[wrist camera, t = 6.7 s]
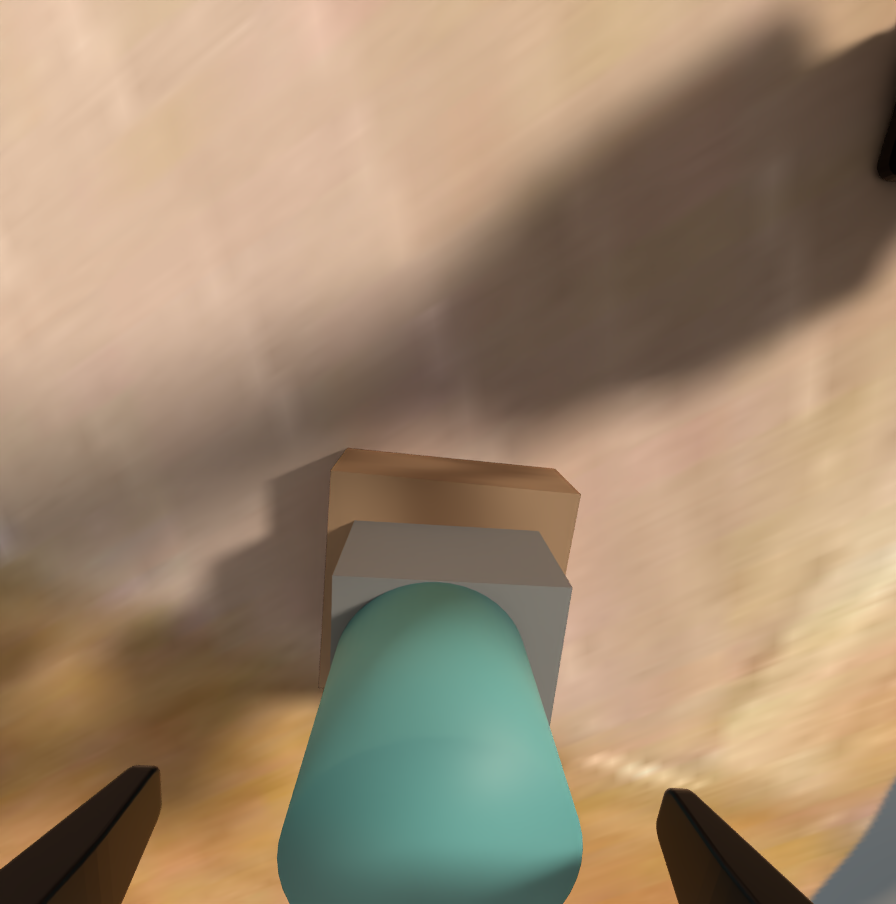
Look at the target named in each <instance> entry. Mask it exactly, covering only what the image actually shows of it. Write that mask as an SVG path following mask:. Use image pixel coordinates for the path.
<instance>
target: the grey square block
mask: <svg viewBox="0 0 896 904" xmlns="http://www.w3.org/2000/svg"><path fill="white" fill-rule="evenodd" d="M423 582H442V583H451V584H455V585H460V586H464V587H467V588H469V589H472V590H475V591H477V592H479V593H481V594H483V595H485V596H486V597H488V598H489V599H491V600H492V601H494V602H495V603H497V604H498V605H499V606H500V607H501V608H502V609H503V610H504V611H505V612H506V613H507V614H508V615H509V617H510V618H511V619H512V620H513V622H514V624H515V625H516V627H517V629H518V631H519V633H520V636H521V638H522V641H523V644H524V647H525V650H526V653H527V657H528V660H529V663H530V666H531V669H532V672H533V676H534V679H535V682H536V685H537V688H538V692H539V695H540V698H541V701H542V704H543V707H544V711H545V714H546V717H547V720H548V723H549V727H550V721H551V715H552V709H553V703H554V697H555V691H556V685H557V678H558V672H559V666H560V660H561V654H562V648H563V642H564V636H565V630H566V624H567V618H568V611H569V605H570V599H571V593H572V586H571V585H570V583H569V581H568V579H567V578H566V576H565V574H564V573H563V571H562V569H561V568H560V566H559V564H558V563H557V561H556V559H555V558H554V556H553V554H552V552H551V551H550V549H549V547H548V546H547V544H546V542H545V541H544V539H543V537H542V536H541V534H540V532H539V531H530V530H513V529H496V528H478V527H461V526H444V525H426V524H409V523H392V522H374V521H357V520H354V523H353V525H352V528H351V530H350V533H349V535H348V538H347V540H346V543H345V545H344V548H343V550H342V553H341V555H340V558H339V560H338V563H337V565H336V568H335V570H334V573H333V575H332V610H331V652H330V668H331V665H332V661H333V658H334V655H335V651H336V648H337V645H338V642H339V639H340V637H341V635H342V633H343V631H344V629H345V628H346V626H347V624H348V623H349V621H350V620H351V619H352V618H353V617H354V615H355V614H356V613H357V612H358V611H359V610H360V609H362V608H363V607H364V606H365V605H366V604H367V603H369V602H370V601H372V600H373V599H375V598H376V597H378V596H380V595H382V594H384V593H386V592H388V591H390V590H393V589H395V588H398V587H401V586H405V585H410V584H415V583H423Z"/></svg>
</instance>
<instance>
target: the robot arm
mask: <svg viewBox="0 0 896 904" xmlns="http://www.w3.org/2000/svg"><path fill="white" fill-rule="evenodd" d="M877 170H878V174H879V176H880V177H881V178H882V179H884V180H886V181H893V182H896V104H895V107H894V110H893V114H892V117H891V120H890V124H889V127H888V130H887V134H886V137H885V140H884V144H883V147H882V150H881V154H880V157H879V160H878V166H877ZM160 810H161V781H160V770H159V768H158V767H156V766H145V765H136V766H132V767H130V768H128V769H127V770H126V771H124V772H123V773H122V774H121V775H119V776H118V777H117V778H116V779H114V780H113V781H112V782H110V783H109V784H108V785H107V786H105V787H104V788H103V789H102V790H100V791H99V792H98V793H97V794H95V795H94V796H93V797H91V798H90V799H89V800H88V801H86V802H85V803H84V804H83V805H81V806H80V807H79V808H78V809H76V810H75V811H74V812H72V813H71V814H70V815H69V816H67V817H66V818H65V819H64V820H62V821H61V822H60V823H59V824H57V825H56V826H55V827H53V828H52V829H51V830H50V831H48V832H47V833H46V834H45V835H43V836H42V837H41V838H40V839H38V840H37V841H36V842H34V843H33V844H32V845H31V846H29V847H28V848H27V849H26V850H24V851H23V852H22V853H21V854H19V855H18V856H17V857H15V858H14V859H13V860H12V861H10V862H9V863H8V864H7V865H5V866H4V867H3V868H2V869H0V904H121V903H122V901H123V899H124V897H125V894H126V892H127V890H128V887H129V885H130V883H131V880H132V878H133V876H134V873H135V871H136V869H137V866H138V864H139V862H140V859H141V857H142V855H143V852H144V850H145V848H146V845H147V843H148V841H149V838H150V836H151V834H152V831H153V829H154V827H155V825H156V822H157V820H158V817H159V814H160ZM656 829H657V835H658V839H659V843H660V846H661V849H662V852H663V855H664V859H665V862H666V865H667V868H668V871H669V874H670V878H671V881H672V884H673V887H674V890H675V894H676V897H677V900H678V903H679V904H813V903H812V902H811V901H810V900H809V899H808V898H807V897H806V896H805V895H804V894H803V893H802V892H800V891H799V890H798V889H797V888H796V887H795V886H794V885H793V884H792V883H791V882H790V881H789V880H788V879H786V878H785V877H784V876H783V875H782V874H781V873H780V872H779V871H778V870H777V869H776V868H775V867H773V866H772V865H771V864H770V863H769V862H768V861H767V860H766V859H765V858H764V857H763V856H762V855H760V854H759V853H758V852H757V851H756V850H755V849H754V848H753V847H752V846H751V845H750V844H749V843H748V842H746V841H745V840H744V839H743V838H742V837H741V836H740V835H739V834H738V833H737V832H736V831H735V830H733V829H732V828H731V827H730V826H729V825H728V824H727V823H726V822H725V821H724V820H723V819H722V818H721V817H719V816H718V815H717V814H716V813H715V812H714V811H713V810H712V809H711V808H710V807H709V806H708V805H706V804H705V803H704V802H703V801H702V800H701V799H700V798H699V797H698V796H697V795H696V794H694V793H693V792H692V791H690V790H688V789H680V788H669V789H667V790H666V791H665V793H664V796H663V800H662V803H661V807H660V811H659V814H658V818H657V823H656Z"/></svg>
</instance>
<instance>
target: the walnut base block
mask: <svg viewBox="0 0 896 904" xmlns="http://www.w3.org/2000/svg"><path fill="white" fill-rule="evenodd" d="M580 497H581V494H580V493H579V492H578V491H577V490H576V489H575V488H574V487H573V486H572V485H571V484H570V483H569V482H568V481H567V480H566V479H565V478H564V477H563V476H562V475H561V474H560V473H559V472H558V471H557V470H556V469H552V468H542V467H532V466H522V465H512V464H502V463H492V462H482V461H472V460H462V459H452V458H442V457H432V456H422V455H412V454H402V453H392V452H382V451H372V450H362V449H352V448H347V449H346V450H345V452H344V453H343V454H342V456H341V457H340V458H339V460H338V461H337V463H336V464H335V465H334V467H333V468H332V469H331V474H330V491H329V509H328V527H327V545H326V563H325V580H324V598H323V616H322V634H321V652H320V669H319V687H318V688H325V685H326V681H327V678H328V675H329V671H330V652H331V610H332V575H333V573H334V570H335V568H336V565H337V563H338V560H339V558H340V555H341V553H342V550H343V548H344V545H345V543H346V540H347V538H348V535H349V533H350V530H351V528H352V525H353V523H354V520H357V521H374V522H392V523H409V524H426V525H444V526H461V527H478V528H496V529H513V530H530V531H539V532H540V534H541V536H542V537H543V539H544V541H545V542H546V544H547V546H548V547H549V549H550V551H551V552H552V554H553V556H554V558H555V559H556V561H557V563H558V564H559V566H560V568H561V569H562V571H563V573H564V574H566V568H567V563H568V558H569V553H570V548H571V543H572V538H573V532H574V527H575V522H576V517H577V512H578V507H579V502H580Z"/></svg>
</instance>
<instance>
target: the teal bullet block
mask: <svg viewBox="0 0 896 904" xmlns="http://www.w3.org/2000/svg"><path fill="white" fill-rule="evenodd" d="M582 852H583V843H582V832H581V827H580V823H579V819H578V816H577V813H576V809H575V806H574V803H573V800H572V797H571V793H570V790H569V787H568V784H567V781H566V778H565V774H564V771H563V768H562V765H561V762H560V758H559V755H558V752H557V749H556V746H555V742H554V739H553V736H552V733H551V730H550V727H549V723H548V720H547V717H546V714H545V711H544V707H543V704H542V701H541V698H540V695H539V692H538V688H537V685H536V682H535V679H534V676H533V672H532V669H531V666H530V663H529V660H528V657H527V653H526V650H525V647H524V644H523V641H522V638H521V636H520V633H519V631H518V629H517V627H516V625H515V624H514V622H513V620H512V619H511V618H510V617H509V615H508V614H507V613H506V612H505V611H504V610H503V609H502V608H501V607H500V606H499V605H498V604H497V603H495V602H494V601H492V600H491V599H489V598H488V597H486V596H485V595H483V594H481V593H479V592H477V591H475V590H472V589H469V588H467V587H464V586H460V585H455V584H451V583H442V582H423V583H415V584H410V585H405V586H401V587H398V588H395V589H393V590H390V591H388V592H386V593H384V594H382V595H380V596H378V597H376V598H375V599H373V600H372V601H370V602H369V603H367V604H366V605H365V606H364V607H363V608H362V609H360V610H359V611H358V612H357V613H356V614H355V615H354V617H353V618H352V619H351V620H350V621H349V623H348V624H347V626H346V628H345V629H344V631H343V633H342V635H341V637H340V639H339V642H338V645H337V648H336V651H335V655H334V658H333V661H332V665H331V668H330V671H329V675H328V678H327V681H326V685H325V688H324V691H323V695H322V698H321V701H320V705H319V708H318V711H317V715H316V718H315V721H314V725H313V728H312V731H311V735H310V738H309V741H308V745H307V748H306V751H305V755H304V758H303V761H302V765H301V768H300V771H299V775H298V778H297V781H296V785H295V788H294V791H293V795H292V798H291V801H290V804H289V808H288V811H287V814H286V818H285V821H284V824H283V828H282V832H281V835H280V839H279V843H278V854H277V863H278V874H279V878H280V881H281V885H282V889H283V891H284V893H285V895H286V897H287V899H288V902H289V903H290V904H563V903H564V901H565V900H566V898H567V897H568V895H569V894H570V892H571V890H572V888H573V886H574V884H575V881H576V879H577V876H578V873H579V869H580V866H581V860H582Z"/></svg>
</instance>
